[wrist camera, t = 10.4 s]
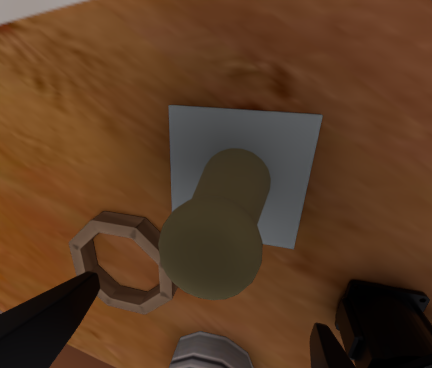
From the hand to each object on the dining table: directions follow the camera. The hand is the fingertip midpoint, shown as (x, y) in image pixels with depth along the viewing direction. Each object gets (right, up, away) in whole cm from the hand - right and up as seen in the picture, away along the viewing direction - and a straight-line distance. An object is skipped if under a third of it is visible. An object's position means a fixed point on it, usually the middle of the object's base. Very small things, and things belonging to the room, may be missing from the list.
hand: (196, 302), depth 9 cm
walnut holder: (-10, -4, +18) cm, 21 cm away
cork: (+3, +5, +11) cm, 12 cm away
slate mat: (+3, +5, +11) cm, 13 cm away
